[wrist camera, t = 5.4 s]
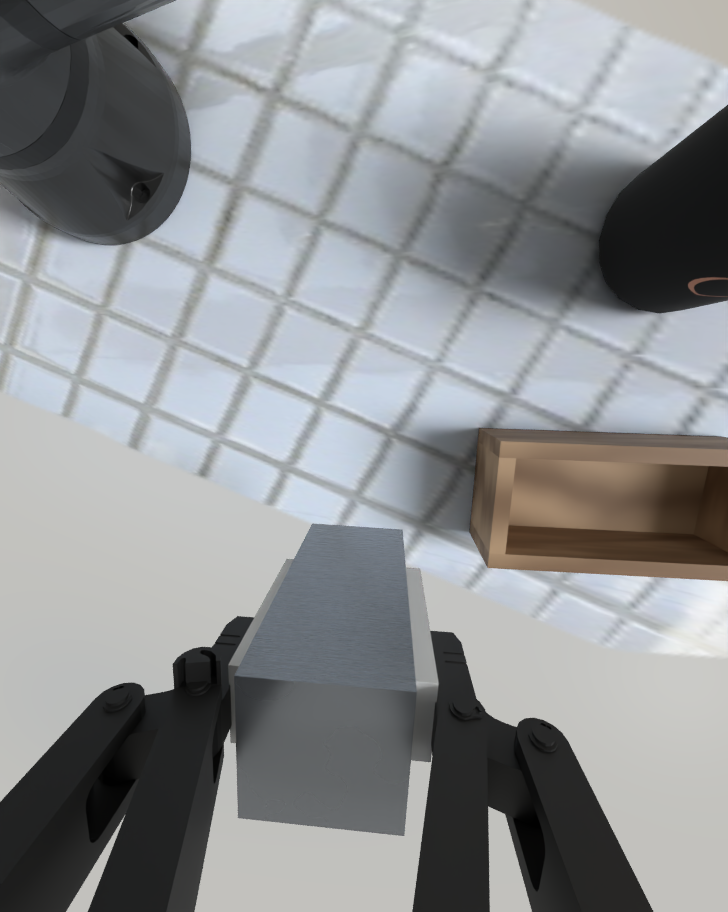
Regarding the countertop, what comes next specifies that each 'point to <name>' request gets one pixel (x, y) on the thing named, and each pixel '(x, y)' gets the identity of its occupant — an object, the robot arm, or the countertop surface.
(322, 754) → the steel bar
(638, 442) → the trough
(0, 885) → the robot arm
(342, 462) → the countertop surface
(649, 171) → the coffee jar
